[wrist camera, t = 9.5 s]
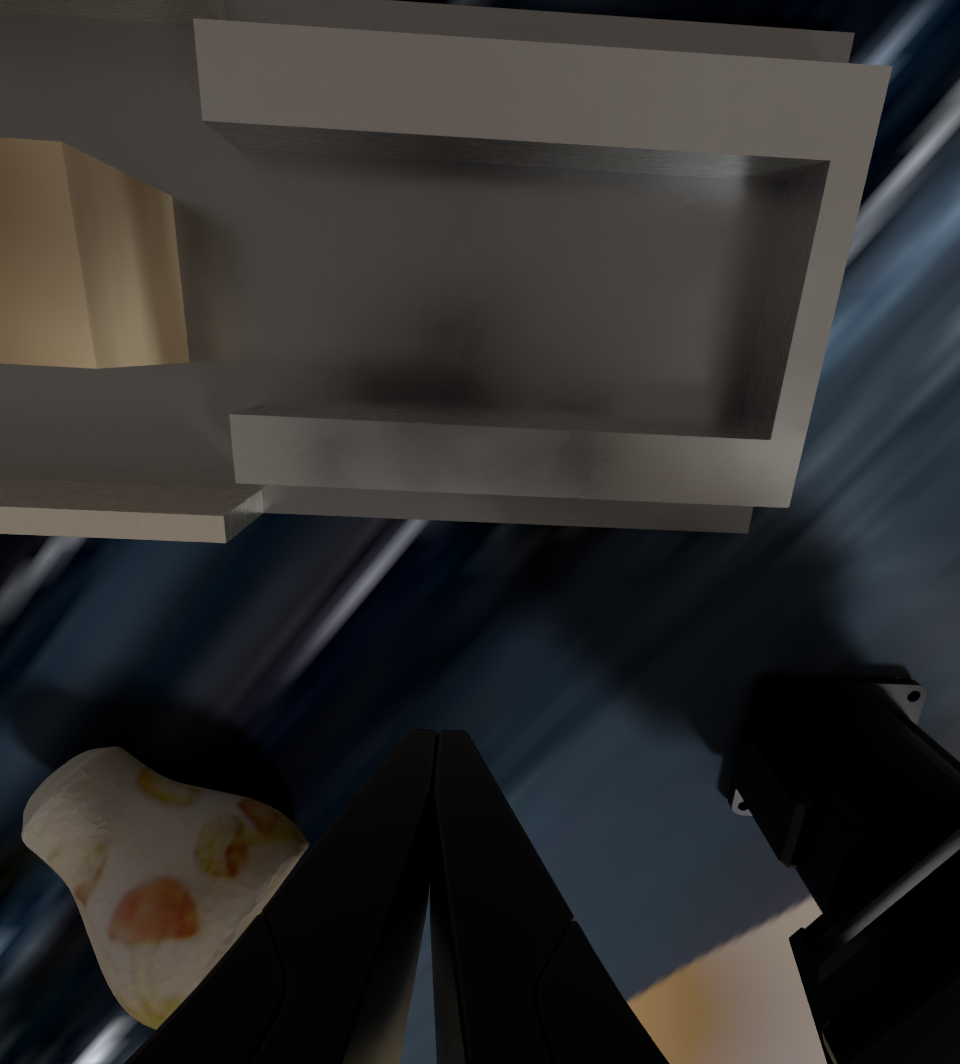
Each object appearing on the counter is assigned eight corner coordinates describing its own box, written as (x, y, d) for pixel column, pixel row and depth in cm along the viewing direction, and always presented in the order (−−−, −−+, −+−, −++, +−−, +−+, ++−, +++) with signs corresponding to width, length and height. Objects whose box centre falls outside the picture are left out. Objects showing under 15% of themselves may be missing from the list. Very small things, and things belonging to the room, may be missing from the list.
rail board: (840, 44, 15) (945, -41, 12) (739, 528, 20) (795, 566, 16) (-295, -35, 15) (-532, -152, 11) (-134, 490, 19) (-267, 522, 16)
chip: (172, 196, 16) (61, 141, 12) (189, 362, 17) (97, 369, 13) (8, 185, 16) (-165, 126, 11) (39, 354, 17) (-104, 357, 13)
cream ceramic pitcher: (92, 673, 22) (80, 900, 14) (301, 731, 28) (374, 911, 20) (-20, 829, 22) (-95, 1142, 14) (213, 853, 28) (252, 1080, 20)
